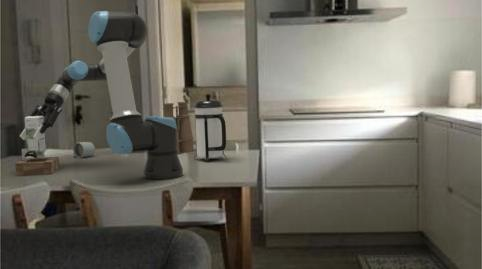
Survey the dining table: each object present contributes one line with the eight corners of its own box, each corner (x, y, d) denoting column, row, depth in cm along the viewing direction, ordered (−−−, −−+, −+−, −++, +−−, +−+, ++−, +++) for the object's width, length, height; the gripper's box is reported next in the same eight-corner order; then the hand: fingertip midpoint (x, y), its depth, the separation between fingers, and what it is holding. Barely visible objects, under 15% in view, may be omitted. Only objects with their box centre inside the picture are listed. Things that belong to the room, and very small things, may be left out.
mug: (25, 164, 247) (24, 150, 247) (20, 163, 253) (19, 149, 252) (47, 162, 254) (46, 148, 253) (42, 160, 259) (41, 146, 258)
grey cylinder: (96, 156, 267) (95, 140, 267) (83, 158, 261) (82, 142, 260) (82, 155, 273) (81, 140, 272) (69, 157, 266) (68, 142, 266)
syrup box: (46, 149, 229) (43, 115, 228) (39, 151, 224) (37, 116, 222) (33, 149, 230) (30, 115, 228) (26, 151, 224) (24, 117, 222)
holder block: (51, 174, 221) (50, 162, 221) (16, 175, 220) (15, 163, 219) (59, 168, 235) (58, 156, 234) (26, 169, 234) (25, 158, 233)
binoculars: (171, 155, 261) (169, 104, 258) (156, 154, 266) (153, 104, 263) (198, 150, 277) (196, 101, 275) (183, 149, 283) (181, 101, 280)
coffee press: (188, 162, 239) (185, 94, 236) (199, 157, 255) (197, 93, 251) (226, 163, 235) (224, 94, 232) (235, 157, 250) (233, 92, 247)
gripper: (78, 102, 233) (51, 145, 221) (45, 102, 243) (18, 143, 231) (68, 91, 228) (40, 133, 216) (35, 91, 237) (6, 132, 225)
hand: (28, 138), depth 223 cm, fingers closed on syrup box, 7 cm apart
